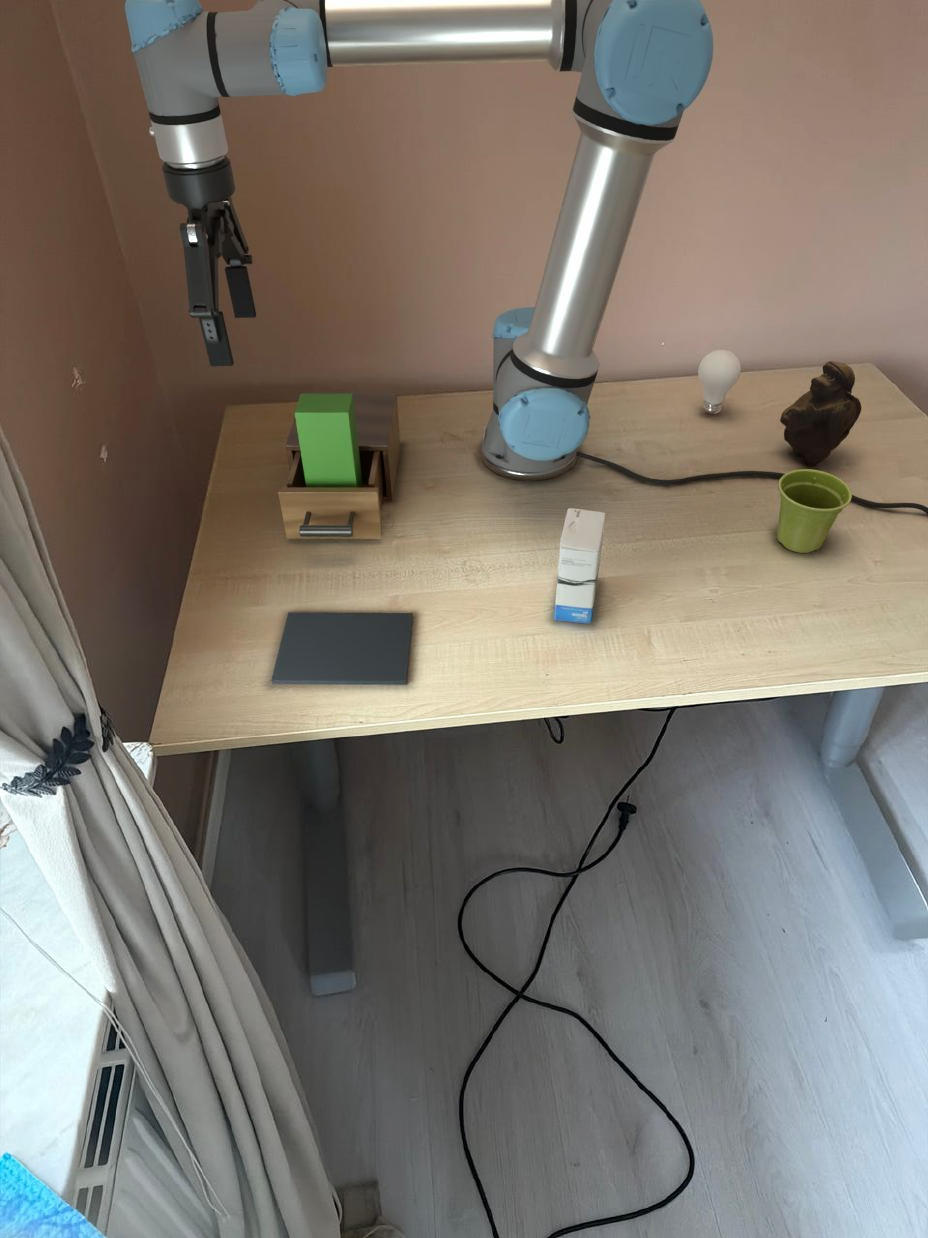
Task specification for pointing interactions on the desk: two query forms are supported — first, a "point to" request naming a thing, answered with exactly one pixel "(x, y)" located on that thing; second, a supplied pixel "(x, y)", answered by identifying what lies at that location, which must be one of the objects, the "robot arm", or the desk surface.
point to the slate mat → (344, 648)
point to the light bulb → (718, 378)
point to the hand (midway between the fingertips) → (234, 339)
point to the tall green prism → (328, 440)
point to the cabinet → (369, 431)
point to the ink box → (579, 565)
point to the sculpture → (822, 414)
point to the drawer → (334, 504)
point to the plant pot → (809, 508)
